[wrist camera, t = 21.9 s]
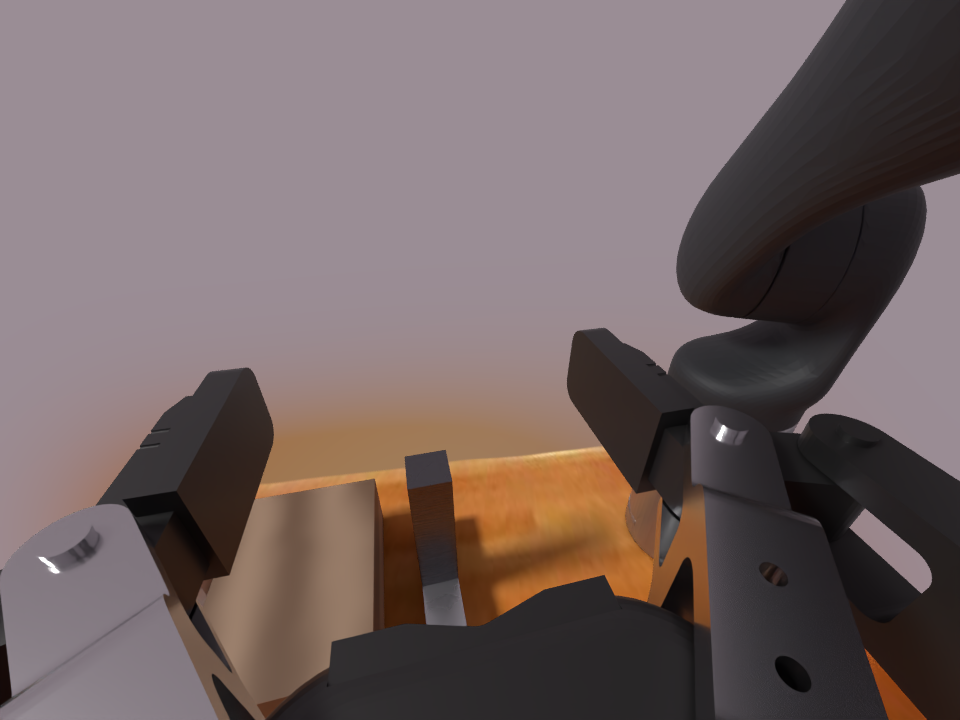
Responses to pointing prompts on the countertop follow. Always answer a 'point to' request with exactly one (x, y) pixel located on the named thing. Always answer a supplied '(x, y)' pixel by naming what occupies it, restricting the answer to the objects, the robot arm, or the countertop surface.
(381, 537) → the marbled brown box
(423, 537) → the dark grey tall part
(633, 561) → the countertop surface
